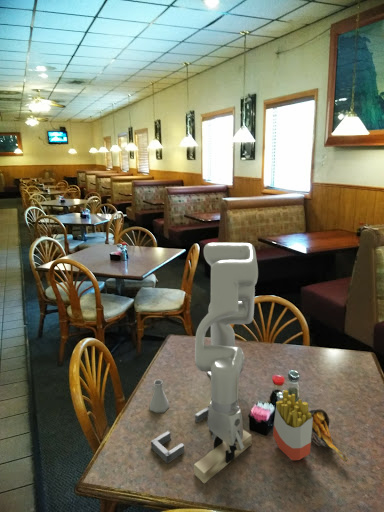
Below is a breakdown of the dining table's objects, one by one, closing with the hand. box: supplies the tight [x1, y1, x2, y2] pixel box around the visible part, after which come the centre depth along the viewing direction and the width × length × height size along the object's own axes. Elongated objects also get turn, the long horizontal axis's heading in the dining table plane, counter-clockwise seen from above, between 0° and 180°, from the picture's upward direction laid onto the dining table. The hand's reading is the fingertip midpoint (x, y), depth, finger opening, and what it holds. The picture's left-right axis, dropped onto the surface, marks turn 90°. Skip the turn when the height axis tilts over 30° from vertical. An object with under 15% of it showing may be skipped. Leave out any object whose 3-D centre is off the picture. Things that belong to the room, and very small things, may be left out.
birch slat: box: [193, 429, 252, 484], centre depth 107 cm, size 20×4×4 cm, turn 132°
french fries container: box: [272, 389, 313, 461], centre depth 108 cm, size 5×11×18 cm, turn 30°
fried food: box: [308, 408, 349, 463], centre depth 112 cm, size 9×11×18 cm
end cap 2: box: [194, 405, 211, 434], centre depth 123 cm, size 6×8×2 cm
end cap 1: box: [150, 430, 185, 464], centre depth 111 cm, size 6×8×2 cm
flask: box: [149, 379, 170, 414], centre depth 130 cm, size 7×7×10 cm
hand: (224, 454), depth 108 cm, fingers closed on birch slat, 4 cm apart
